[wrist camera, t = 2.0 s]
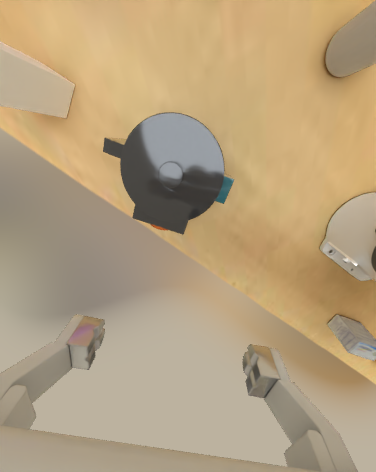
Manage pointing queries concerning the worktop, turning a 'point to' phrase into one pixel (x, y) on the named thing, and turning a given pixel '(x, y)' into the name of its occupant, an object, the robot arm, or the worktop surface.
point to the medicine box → (354, 337)
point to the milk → (32, 85)
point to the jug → (171, 169)
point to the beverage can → (353, 44)
